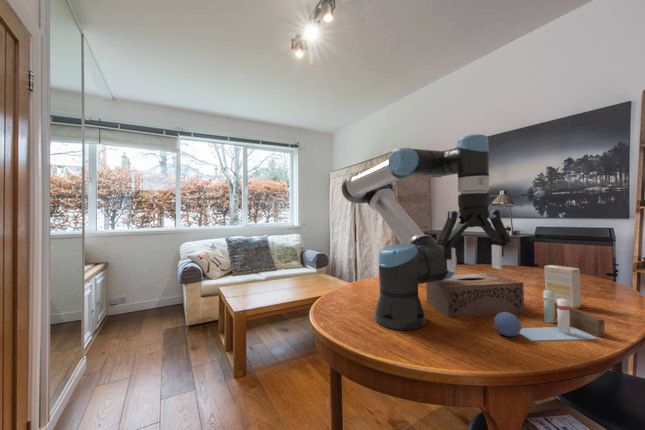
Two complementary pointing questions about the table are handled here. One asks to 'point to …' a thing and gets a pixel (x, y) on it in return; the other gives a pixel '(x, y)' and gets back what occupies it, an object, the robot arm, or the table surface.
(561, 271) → the supplement box
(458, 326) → the table surface
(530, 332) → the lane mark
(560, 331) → the pin
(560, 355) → the table surface
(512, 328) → the ball
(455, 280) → the tissue box cover
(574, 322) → the rail
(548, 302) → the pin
